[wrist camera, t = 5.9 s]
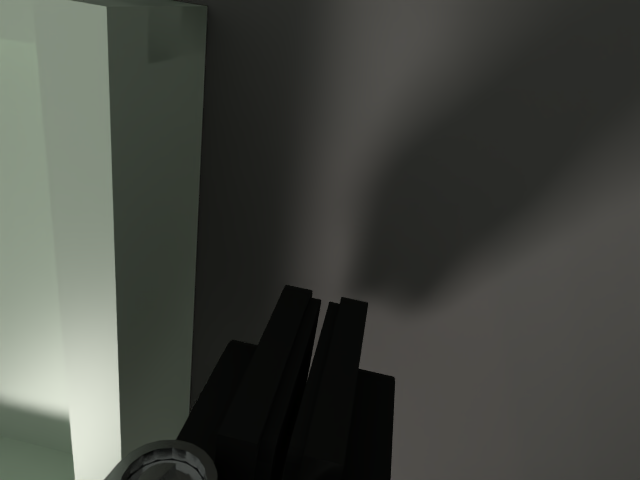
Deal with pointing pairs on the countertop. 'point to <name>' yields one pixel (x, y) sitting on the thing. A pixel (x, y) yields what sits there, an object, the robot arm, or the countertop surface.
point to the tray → (96, 229)
